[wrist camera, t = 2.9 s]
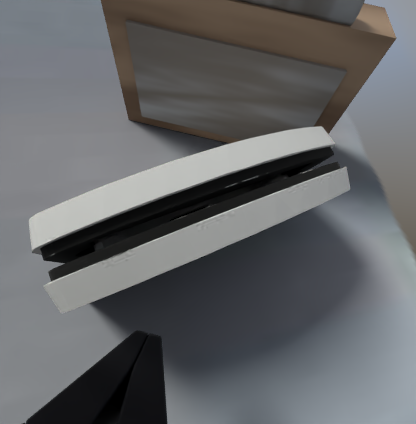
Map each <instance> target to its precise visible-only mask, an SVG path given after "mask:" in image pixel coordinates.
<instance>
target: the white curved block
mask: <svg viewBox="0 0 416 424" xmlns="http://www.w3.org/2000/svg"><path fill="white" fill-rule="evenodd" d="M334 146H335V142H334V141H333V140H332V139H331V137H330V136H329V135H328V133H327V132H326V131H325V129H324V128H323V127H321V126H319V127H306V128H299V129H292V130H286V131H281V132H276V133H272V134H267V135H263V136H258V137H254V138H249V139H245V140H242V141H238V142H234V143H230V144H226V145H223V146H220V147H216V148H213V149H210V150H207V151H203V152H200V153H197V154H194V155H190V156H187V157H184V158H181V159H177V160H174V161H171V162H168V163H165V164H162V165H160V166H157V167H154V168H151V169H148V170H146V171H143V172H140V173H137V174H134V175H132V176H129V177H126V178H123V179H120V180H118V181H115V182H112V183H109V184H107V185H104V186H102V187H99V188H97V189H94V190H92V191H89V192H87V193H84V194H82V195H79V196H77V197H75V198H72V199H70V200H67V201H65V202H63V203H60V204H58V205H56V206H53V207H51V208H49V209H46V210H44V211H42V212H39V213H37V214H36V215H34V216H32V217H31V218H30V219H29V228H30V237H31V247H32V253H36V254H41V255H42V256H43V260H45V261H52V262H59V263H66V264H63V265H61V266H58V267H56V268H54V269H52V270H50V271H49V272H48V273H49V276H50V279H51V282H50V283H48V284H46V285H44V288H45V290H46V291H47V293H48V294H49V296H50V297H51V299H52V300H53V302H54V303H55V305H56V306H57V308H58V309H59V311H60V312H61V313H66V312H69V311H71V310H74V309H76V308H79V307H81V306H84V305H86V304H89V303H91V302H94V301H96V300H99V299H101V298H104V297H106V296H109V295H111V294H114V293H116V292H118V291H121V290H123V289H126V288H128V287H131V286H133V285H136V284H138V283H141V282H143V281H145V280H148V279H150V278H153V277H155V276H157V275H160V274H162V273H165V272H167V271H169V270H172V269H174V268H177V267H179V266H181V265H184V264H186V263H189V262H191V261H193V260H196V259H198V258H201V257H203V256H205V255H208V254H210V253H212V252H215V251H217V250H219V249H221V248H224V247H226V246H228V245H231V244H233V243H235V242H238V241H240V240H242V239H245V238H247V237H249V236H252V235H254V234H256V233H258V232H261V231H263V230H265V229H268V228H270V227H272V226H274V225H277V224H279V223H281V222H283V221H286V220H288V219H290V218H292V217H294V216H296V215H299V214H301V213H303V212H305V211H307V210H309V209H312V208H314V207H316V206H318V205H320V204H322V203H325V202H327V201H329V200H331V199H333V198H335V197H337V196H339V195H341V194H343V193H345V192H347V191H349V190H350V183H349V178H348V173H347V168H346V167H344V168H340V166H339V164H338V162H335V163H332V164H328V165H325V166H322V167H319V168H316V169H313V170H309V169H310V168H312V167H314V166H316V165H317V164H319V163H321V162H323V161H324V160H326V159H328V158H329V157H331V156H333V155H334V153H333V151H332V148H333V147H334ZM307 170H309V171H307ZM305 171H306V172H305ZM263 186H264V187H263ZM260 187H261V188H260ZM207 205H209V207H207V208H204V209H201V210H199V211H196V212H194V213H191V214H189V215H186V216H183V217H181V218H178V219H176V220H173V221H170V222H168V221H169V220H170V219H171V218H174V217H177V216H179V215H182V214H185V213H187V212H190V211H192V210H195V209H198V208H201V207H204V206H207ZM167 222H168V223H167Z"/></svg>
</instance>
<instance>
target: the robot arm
mask: <svg viewBox="0 0 416 424" xmlns="http://www.w3.org/2000/svg"><path fill="white" fill-rule="evenodd" d="M23 424H25V423H23ZM26 424H167V411H166V396H165V382H164V367H163V353H162V338H161V336H158V335H154V334H149V335H148V333H146V332H142V331H138V330H137V331H135V332H134V333H132V334H131V335H130V336H129V337H128V338H126V339H125V340H124V341H123V342H122V343H120V344H119V345H118V346H117V347H115V348H114V349H113V350H112V351H111V352H109V353H108V354H107V355H106V356H104V357H103V358H102V359H101V360H100V361H98V362H97V363H96V364H95V365H93V366H92V367H91V368H90V369H89V370H87V371H86V372H85V373H84V374H83V375H81V376H80V377H79V378H78V379H76V380H75V381H74V382H73V383H72V384H70V385H69V386H68V387H67V388H65V389H64V390H63V391H62V392H61V393H59V394H58V395H57V396H56V397H54V398H53V399H52V400H51V401H50V402H48V403H47V404H46V405H45V406H44V407H42V408H41V409H40V410H39V411H37V412H36V413H35V414H34V415H33V416H31V417H30V418H29V419H28V420H27V421H26Z"/></svg>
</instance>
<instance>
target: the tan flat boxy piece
mask: <svg viewBox="0 0 416 424" xmlns="http://www.w3.org/2000/svg"><path fill="white" fill-rule="evenodd" d="M364 1H365V0H101V3H102V7H103V12H104V16H105V20H106V24H107V29H108V33H109V37H110V41H111V46H112V50H113V54H114V58H115V63H116V67H117V71H118V75H119V80H120V84H121V88H122V93H123V97H124V101H125V105H126V110H127V114H128V118H129V120H133V121H137V122H141V123H145V124H149V125H154V126H158V127H162V128H166V129H171V130H175V131H179V132H183V133H188V134H192V135H196V136H200V137H205V138H209V139H213V140H217V141H221V142H226V143H234V142H238V141H242V140H245V139H249V138H254V137H258V136H263V135H267V134H272V133H276V132H281V131H286V130H292V129H299V128H306V127H319V126H321V127H323V128H324V129H325V131H326V132H327V133H328V134H329V133H330V131H331V130H332V128H333V127H334V126H335V124H336V123H337V121H338V120H339V119H340V117H341V116H342V114H343V113H344V111H345V110H346V109H347V107H348V106H349V104H350V103H351V102H352V100H353V99H354V97H355V96H356V94H357V93H358V92H359V90H360V89H361V87H362V86H363V85H364V83H365V82H366V80H367V79H368V78H369V76H370V75H371V73H372V72H373V71H374V69H375V68H376V66H377V65H378V64H379V62H380V61H381V59H382V58H383V56H384V55H385V54H386V52H387V51H388V49H389V48H390V47H391V45H392V44H393V42H394V41H395V40H396V36H395V33H394V31H393V28H392V26H391V23H390V21H389V18H388V15H387V13H386V10H385V8H383V7H378V6H374V5H369V4H364Z"/></svg>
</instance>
